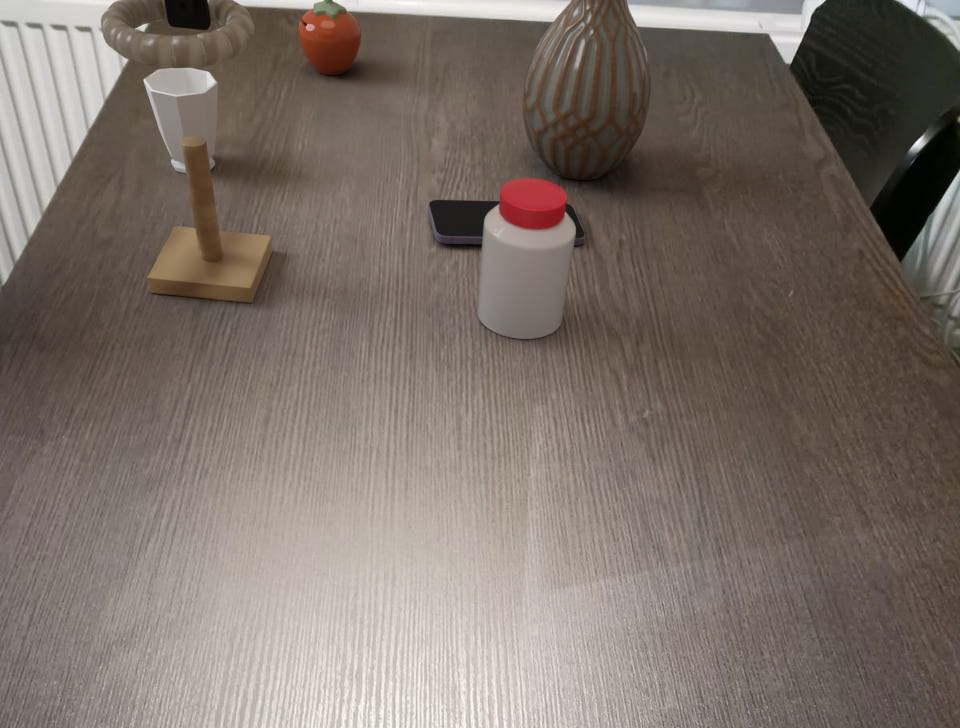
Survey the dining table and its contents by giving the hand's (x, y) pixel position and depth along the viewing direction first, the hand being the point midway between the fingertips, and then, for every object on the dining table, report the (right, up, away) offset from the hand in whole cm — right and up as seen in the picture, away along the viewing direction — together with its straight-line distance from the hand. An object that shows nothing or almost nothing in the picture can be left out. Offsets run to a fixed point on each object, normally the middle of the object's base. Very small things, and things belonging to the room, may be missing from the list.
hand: (194, 17), depth 76 cm
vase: (+33, +3, +30) cm, 45 cm away
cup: (-7, +1, +25) cm, 26 cm away
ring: (0, -3, -3) cm, 4 cm away
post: (-2, -15, +12) cm, 19 cm away
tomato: (+4, +20, +42) cm, 47 cm away
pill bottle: (+26, -20, +11) cm, 34 cm away
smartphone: (+25, -8, +21) cm, 33 cm away
